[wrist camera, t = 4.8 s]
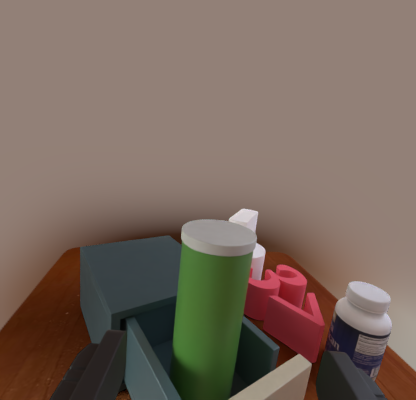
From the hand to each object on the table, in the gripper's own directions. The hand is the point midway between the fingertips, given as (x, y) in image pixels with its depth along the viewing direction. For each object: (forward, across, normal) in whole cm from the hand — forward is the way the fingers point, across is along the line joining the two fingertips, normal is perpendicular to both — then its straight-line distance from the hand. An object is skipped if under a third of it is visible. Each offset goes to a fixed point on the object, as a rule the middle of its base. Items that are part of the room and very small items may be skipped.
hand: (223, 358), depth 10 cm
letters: (+23, -12, +15) cm, 30 cm away
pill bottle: (+16, -18, +15) cm, 28 cm away
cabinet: (+19, +7, +15) cm, 25 cm away
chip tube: (+9, 0, +13) cm, 16 cm away
